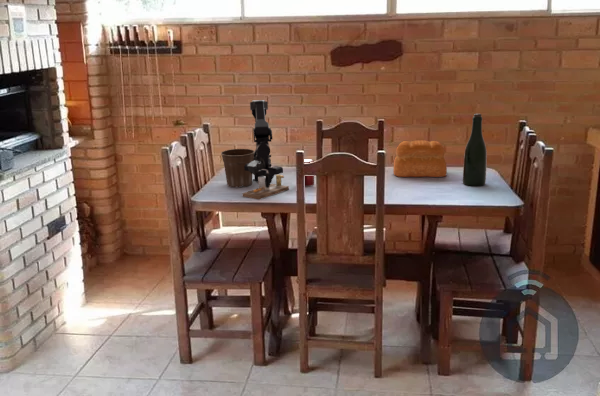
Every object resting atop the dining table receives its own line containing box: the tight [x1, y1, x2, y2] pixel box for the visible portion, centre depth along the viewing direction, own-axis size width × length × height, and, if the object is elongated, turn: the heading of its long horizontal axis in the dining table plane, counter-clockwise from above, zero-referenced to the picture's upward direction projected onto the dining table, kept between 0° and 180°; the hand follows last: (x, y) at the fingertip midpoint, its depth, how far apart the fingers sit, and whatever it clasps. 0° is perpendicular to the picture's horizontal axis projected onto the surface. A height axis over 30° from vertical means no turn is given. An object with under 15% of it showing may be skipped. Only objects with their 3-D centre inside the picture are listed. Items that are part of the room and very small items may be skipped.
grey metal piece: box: [253, 176, 270, 192], centre depth 278 cm, size 8×4×6 cm, turn 143°
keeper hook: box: [275, 174, 285, 186], centre depth 289 cm, size 2×4×5 cm, turn 53°
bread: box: [392, 139, 448, 178], centre depth 310 cm, size 16×26×17 cm, turn 84°
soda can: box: [304, 158, 315, 188], centre depth 294 cm, size 7×7×12 cm
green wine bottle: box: [462, 113, 488, 187], centre depth 286 cm, size 10×10×33 cm
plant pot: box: [220, 148, 255, 188], centre depth 297 cm, size 16×16×16 cm
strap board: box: [242, 183, 290, 200], centre depth 282 cm, size 21×10×2 cm, turn 143°
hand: (264, 187), depth 281 cm, fingers closed on grey metal piece, 4 cm apart
